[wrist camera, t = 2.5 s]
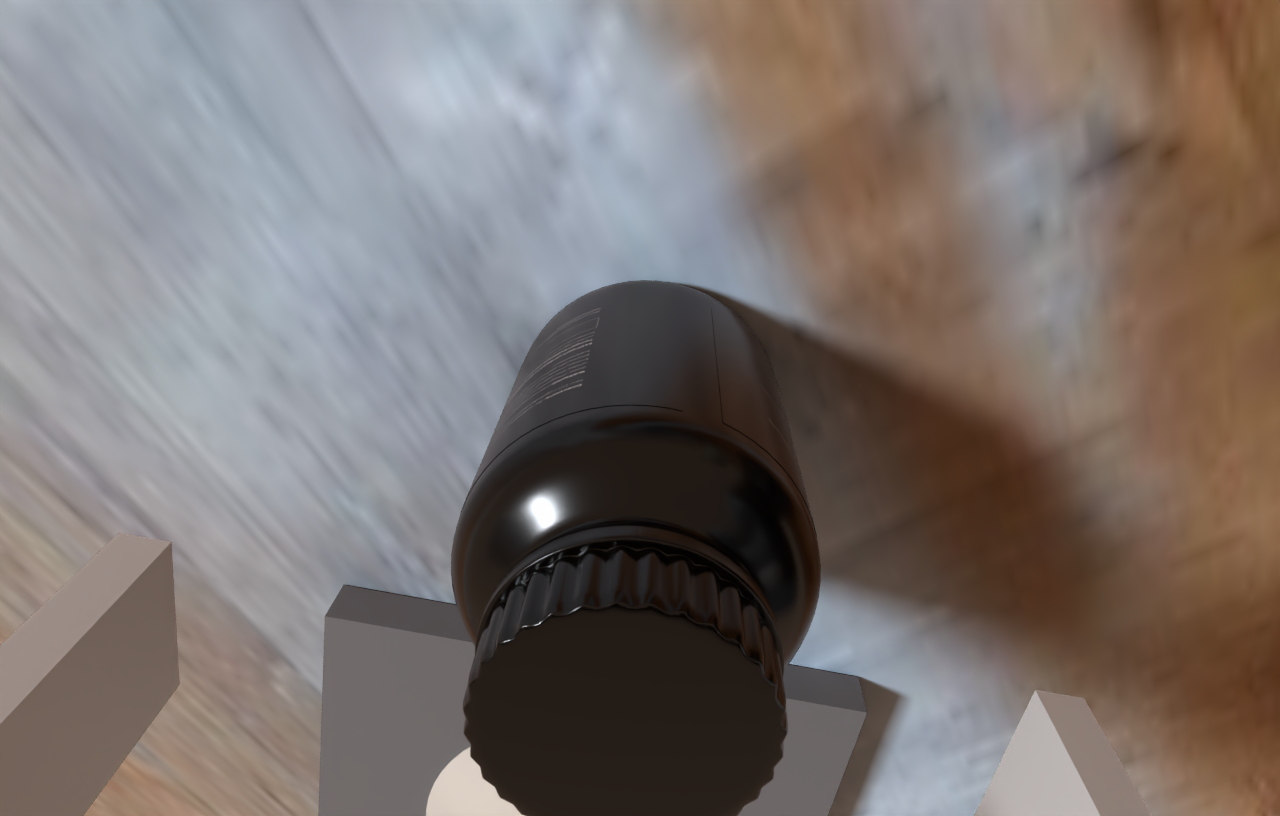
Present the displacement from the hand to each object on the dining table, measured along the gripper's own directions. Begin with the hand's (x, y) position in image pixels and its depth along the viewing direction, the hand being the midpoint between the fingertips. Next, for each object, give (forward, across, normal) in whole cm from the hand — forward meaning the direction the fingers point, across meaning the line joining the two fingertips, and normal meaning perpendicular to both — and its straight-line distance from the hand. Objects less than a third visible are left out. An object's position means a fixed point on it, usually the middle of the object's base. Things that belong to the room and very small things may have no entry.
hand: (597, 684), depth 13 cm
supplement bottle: (+11, 0, 0) cm, 11 cm away
